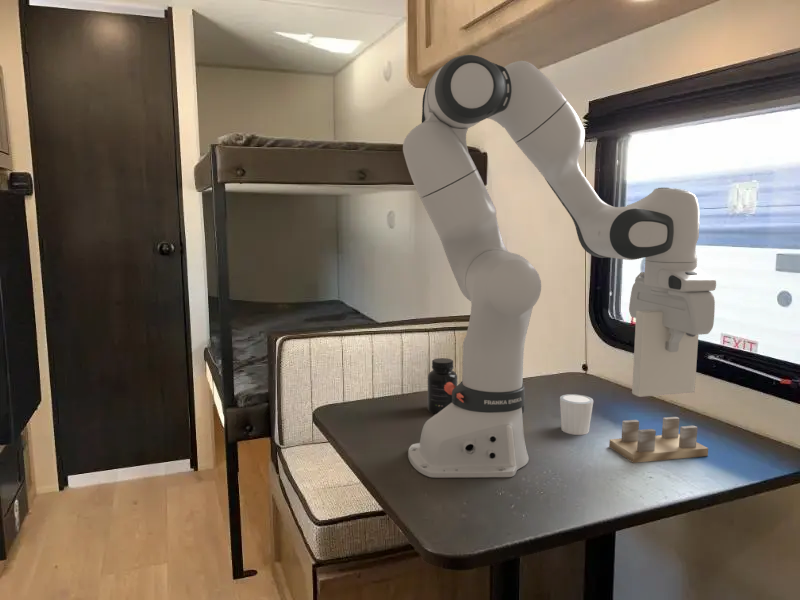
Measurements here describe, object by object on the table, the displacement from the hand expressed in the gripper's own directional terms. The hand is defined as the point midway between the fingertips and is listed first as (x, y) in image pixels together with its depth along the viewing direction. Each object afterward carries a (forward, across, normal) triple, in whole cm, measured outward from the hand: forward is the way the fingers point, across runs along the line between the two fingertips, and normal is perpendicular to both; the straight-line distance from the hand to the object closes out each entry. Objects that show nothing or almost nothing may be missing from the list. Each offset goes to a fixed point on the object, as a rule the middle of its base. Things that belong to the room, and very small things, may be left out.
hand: (665, 349), depth 117 cm
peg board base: (+20, 0, 0) cm, 20 cm away
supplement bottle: (+20, -32, -34) cm, 51 cm away
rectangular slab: (+9, 0, 0) cm, 9 cm away
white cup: (+20, -14, -10) cm, 27 cm away
